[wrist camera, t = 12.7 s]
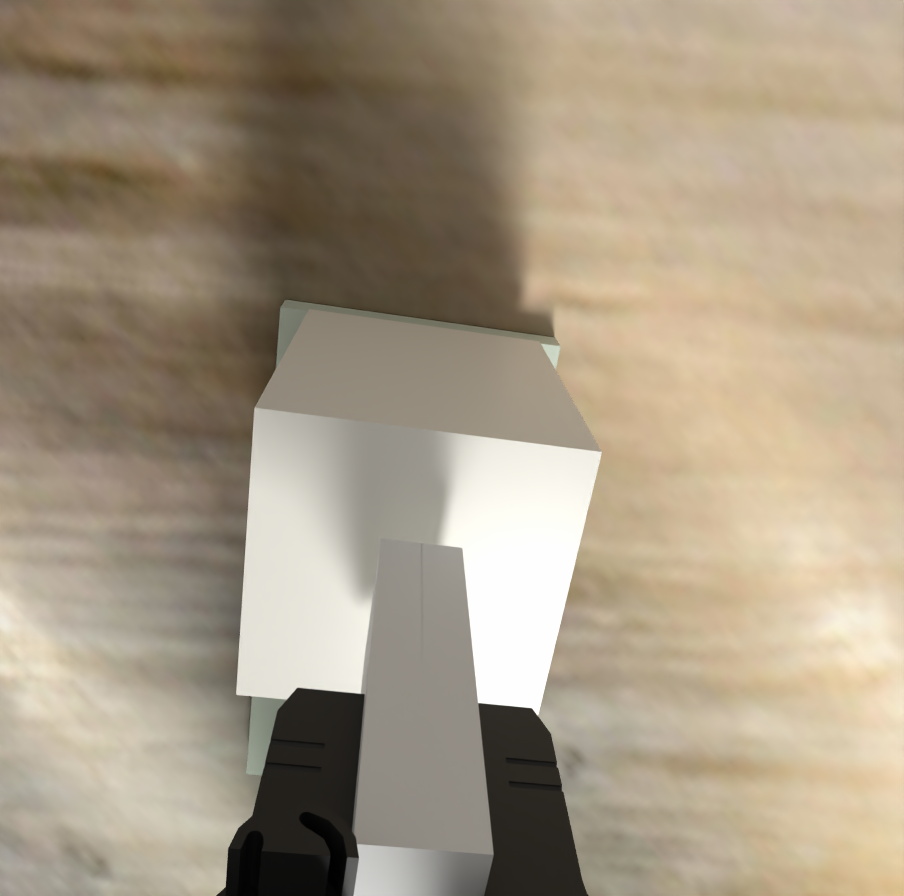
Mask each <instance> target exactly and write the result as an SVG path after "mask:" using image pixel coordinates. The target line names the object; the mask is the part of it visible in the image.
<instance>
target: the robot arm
mask: <svg viewBox="0 0 904 896" xmlns="http://www.w3.org/2000/svg"><path fill="white" fill-rule="evenodd" d="M556 765H557V761H556V756H555V751H554V747H553V742H552V737H551V734H550V732H549V731H548V729H547V728H546V727H545V725H544V724H543V722H542V721H541V720H540V718H539V717H538V716H537V714H536V713H535V711H534V710H533V709H532V708H526V707H516V706H505V705H495V704H485V703H478V697H477V687H476V677H475V667H474V658H473V648H472V638H471V628H470V618H469V609H468V599H467V589H466V579H465V570H464V560H463V550H462V548H460V547H452V546H443V545H434V544H426V543H417V542H408V541H400V540H391V539H382V538H381V539H380V546H379V553H378V561H377V568H376V576H375V583H374V590H373V598H372V605H371V612H370V620H369V627H368V634H367V642H366V649H365V657H364V665H363V675H362V685H361V694H358V693H348V692H338V691H327V690H317V689H307V688H297V689H296V690H295V691H294V692H293V693H292V694H291V695H290V697H289V698H288V699H287V700H286V701H285V702H284V704H283V705H282V706H281V707H280V708H279V709H278V710H277V714H276V719H275V723H274V727H273V731H272V735H271V741H270V744H269V748H268V752H267V756H266V761H265V767H264V769H263V773H262V778H261V782H260V786H259V790H258V794H257V799H256V803H255V807H254V811H253V815H252V817H251V818H250V819H248V820H247V821H246V822H245V823H244V824H243V825H242V826H240V827H239V828H238V830H237V832H236V834H235V836H234V838H233V840H232V842H231V844H230V846H229V848H228V862H227V877H226V887H225V888H224V889H223V890H222V891H221V892H220V893H219V894H218V895H216V896H588V895H587V892H586V890H585V887H584V884H583V881H582V877H581V872H580V868H579V863H578V858H577V854H576V849H575V844H574V840H573V835H572V830H571V826H570V821H569V816H568V812H567V807H566V802H565V798H564V793H563V792H562V784H561V779H560V775H559V770H558V768H557V766H556Z"/></svg>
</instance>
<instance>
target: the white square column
mask: <svg viewBox="0 0 904 896" xmlns="http://www.w3.org/2000/svg"><path fill="white" fill-rule="evenodd" d="M601 454H602V451H601V450H600V448H599V446H598V444H597V443H596V441H595V439H594V437H593V435H592V434H591V432H590V430H589V428H588V427H587V425H586V423H585V421H584V419H583V418H582V416H581V414H580V412H579V411H578V409H577V407H576V405H575V403H574V402H573V400H572V398H571V396H570V395H569V393H568V391H567V389H566V387H565V386H564V384H563V382H562V380H561V379H560V377H559V375H558V373H557V371H556V370H555V368H554V366H553V364H552V363H551V361H550V359H549V357H548V356H547V354H546V352H545V350H544V348H543V347H542V345H541V343H540V341H533V340H526V339H519V338H512V337H505V336H498V335H490V334H483V333H476V332H469V331H462V330H455V329H448V328H441V327H433V326H426V325H419V324H412V323H405V322H398V321H391V320H384V319H377V318H369V317H362V316H355V315H348V314H341V313H334V312H327V311H320V310H312V309H309V310H308V312H307V314H306V316H305V317H304V319H303V321H302V323H301V325H300V326H299V328H298V330H297V332H296V334H295V335H294V337H293V339H292V341H291V343H290V345H289V346H288V348H287V350H286V352H285V354H284V355H283V357H282V359H281V361H280V363H279V364H278V366H277V368H276V370H275V372H274V373H273V375H272V377H271V379H270V381H269V383H268V384H267V386H266V388H265V390H264V392H263V393H262V395H261V397H260V399H259V401H258V402H257V404H256V406H255V409H254V424H253V440H252V455H251V471H250V487H249V502H248V518H247V533H246V549H245V564H244V580H243V596H242V611H241V627H240V642H239V658H238V674H237V689H236V695H243V696H254V697H265V698H275V699H286V700H287V699H288V698H289V697H290V695H291V694H292V693H293V692H294V691H295V690H296V689H297V688H307V689H317V690H327V691H338V692H348V693H358V694H361V685H362V675H363V665H364V657H365V649H366V642H367V634H368V627H369V620H370V612H371V605H372V598H373V590H374V583H375V576H376V568H377V561H378V553H379V546H380V539H381V538H382V539H391V540H400V541H408V542H417V543H426V544H434V545H443V546H452V547H460V548H462V550H463V560H464V570H465V579H466V589H467V599H468V609H469V618H470V628H471V638H472V648H473V658H474V667H475V677H476V687H477V697H478V703H485V704H495V705H505V706H516V707H526V708H532V709H533V710H534V711H535V713H536V714H537V716H538V713H539V709H540V705H541V701H542V697H543V693H544V689H545V684H546V680H547V676H548V672H549V668H550V664H551V660H552V656H553V651H554V647H555V643H556V639H557V635H558V631H559V627H560V623H561V618H562V614H563V610H564V606H565V602H566V598H567V594H568V590H569V585H570V581H571V577H572V573H573V569H574V565H575V561H576V557H577V552H578V548H579V544H580V540H581V536H582V532H583V528H584V524H585V519H586V515H587V511H588V507H589V503H590V499H591V495H592V491H593V487H594V482H595V478H596V474H597V470H598V466H599V462H600V458H601Z"/></svg>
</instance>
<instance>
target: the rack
mask: <svg viewBox="0 0 904 896" xmlns="http://www.w3.org/2000/svg"><path fill="white" fill-rule="evenodd" d="M309 309H312V310H320V311H327V312H334V313H341V314H348V315H355V316H362V317H369V318H377V319H384V320H391V321H398V322H405V323H412V324H419V325H426V326H433V327H441V328H448V329H455V330H462V331H469V332H476V333H483V334H490V335H498V336H505V337H512V338H519V339H526V340H533V341H540V343H541V345H542V347H543V348H544V350H545V352H546V354H547V356H548V357H549V359H550V361H551V363H552V364H553V366H554V368H555V370H556V366H557V361H558V356H559V352H560V347H561V346H560V345H559V343H558V342H557V340H556V338H555V337H548V336H541V335H533V334H526V333H519V332H512V331H505V330H498V329H491V328H484V327H477V326H470V325H463V324H455V323H448V322H441V321H434V320H427V319H420V318H413V317H406V316H399V315H392V314H385V313H377V312H370V311H363V310H356V309H349V308H342V307H335V306H328V305H321V304H314V303H307V302H299V301H292V300H285V301H284V303H283V304H282V306H281V307H280V319H279V333H278V347H277V360H276V368H277V366H278V364H279V363H280V361H281V359H282V357H283V355H284V354H285V352H286V350H287V348H288V346H289V345H290V343H291V341H292V339H293V337H294V335H295V334H296V332H297V330H298V328H299V326H300V325H301V323H302V321H303V319H304V317H305V316H306V314H307V312H308V310H309ZM285 701H286V699H275V698H265V697H254V696H252V702H251V716H250V729H249V743H248V757H247V770H246V774H250V775H262V773H263V769H264V767H265V761H266V756H267V752H268V748H269V744H270V741H271V735H272V731H273V727H274V723H275V719H276V714H277V710H278V709H279V708H280V707H281V706H282V705H283V704H284V702H285Z"/></svg>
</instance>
